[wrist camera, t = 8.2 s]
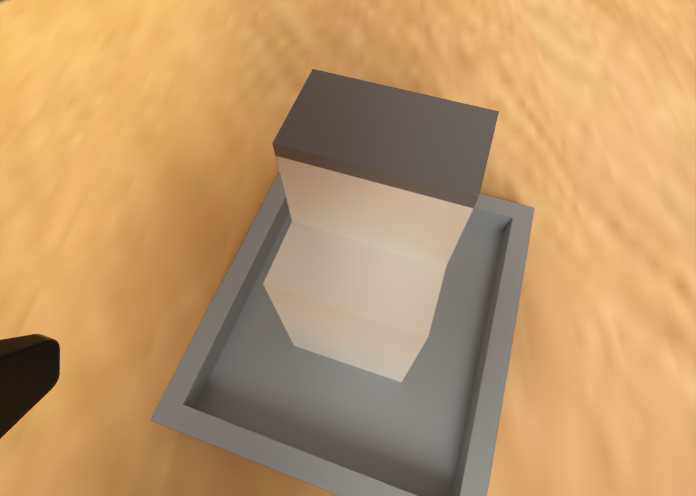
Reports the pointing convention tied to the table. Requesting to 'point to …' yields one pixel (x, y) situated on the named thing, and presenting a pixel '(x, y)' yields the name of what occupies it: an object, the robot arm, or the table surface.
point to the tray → (359, 373)
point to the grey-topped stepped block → (372, 216)
